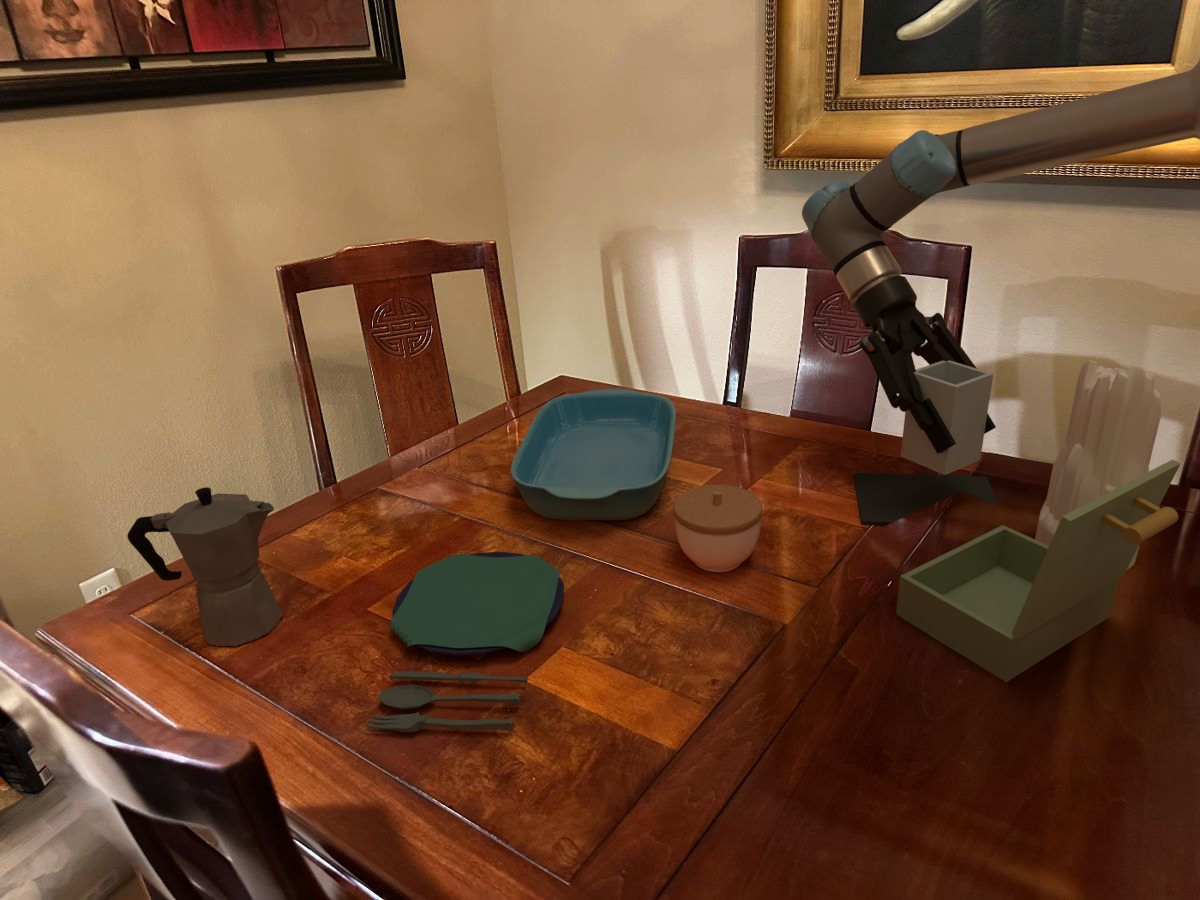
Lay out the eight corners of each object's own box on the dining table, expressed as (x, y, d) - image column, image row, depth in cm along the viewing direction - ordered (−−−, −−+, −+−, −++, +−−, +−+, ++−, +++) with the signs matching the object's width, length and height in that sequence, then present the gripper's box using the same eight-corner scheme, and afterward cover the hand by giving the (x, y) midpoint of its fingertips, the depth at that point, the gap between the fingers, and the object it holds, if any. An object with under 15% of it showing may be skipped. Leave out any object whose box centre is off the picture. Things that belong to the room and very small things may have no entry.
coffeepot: (305, 591, 104) (271, 461, 96) (296, 638, 96) (258, 499, 88) (173, 613, 102) (128, 481, 94) (152, 662, 93) (101, 522, 86)
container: (900, 456, 112) (909, 371, 107) (935, 442, 115) (945, 359, 110) (944, 475, 106) (956, 387, 101) (980, 460, 109) (993, 373, 104)
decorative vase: (1039, 522, 108) (1074, 336, 97) (1136, 541, 103) (1184, 346, 92) (1028, 564, 100) (1066, 366, 89) (1133, 587, 95) (1186, 380, 84)
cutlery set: (577, 565, 106) (576, 549, 105) (532, 742, 79) (530, 724, 78) (425, 562, 108) (422, 547, 107) (331, 734, 82) (326, 716, 81)
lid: (1061, 516, 72) (1111, 545, 68) (1172, 459, 79) (1221, 483, 76) (1011, 633, 79) (1053, 664, 76) (1116, 571, 87) (1158, 597, 84)
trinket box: (778, 554, 105) (780, 488, 101) (727, 594, 98) (727, 524, 94) (708, 527, 112) (708, 464, 108) (657, 562, 105) (654, 497, 101)
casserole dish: (667, 541, 109) (665, 493, 106) (500, 538, 113) (494, 491, 110) (680, 425, 142) (680, 386, 139) (551, 426, 146) (547, 387, 142)
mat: (985, 480, 119) (986, 476, 119) (1008, 531, 107) (1009, 527, 106) (853, 475, 123) (853, 472, 122) (861, 524, 110) (861, 520, 110)
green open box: (895, 619, 92) (899, 575, 90) (995, 565, 100) (1002, 524, 98) (1005, 687, 82) (1013, 640, 79) (1108, 621, 90) (1118, 577, 87)
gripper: (910, 291, 120) (995, 432, 114) (806, 319, 110) (893, 474, 105) (946, 260, 113) (1038, 407, 107) (839, 287, 104) (934, 450, 98)
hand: (967, 440), depth 106 cm, fingers closed on container, 7 cm apart
